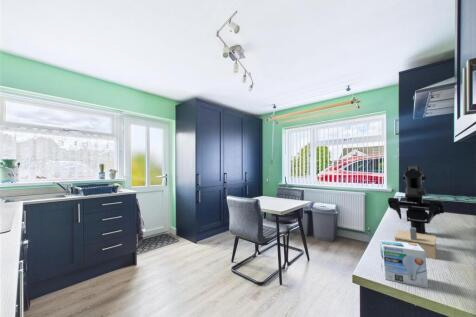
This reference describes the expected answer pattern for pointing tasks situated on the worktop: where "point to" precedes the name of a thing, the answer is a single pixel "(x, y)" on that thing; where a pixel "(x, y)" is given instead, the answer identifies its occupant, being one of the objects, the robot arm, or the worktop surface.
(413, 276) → the light bulb box
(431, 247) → the wooden box
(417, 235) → the sliding lid
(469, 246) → the worktop surface
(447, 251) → the worktop surface
